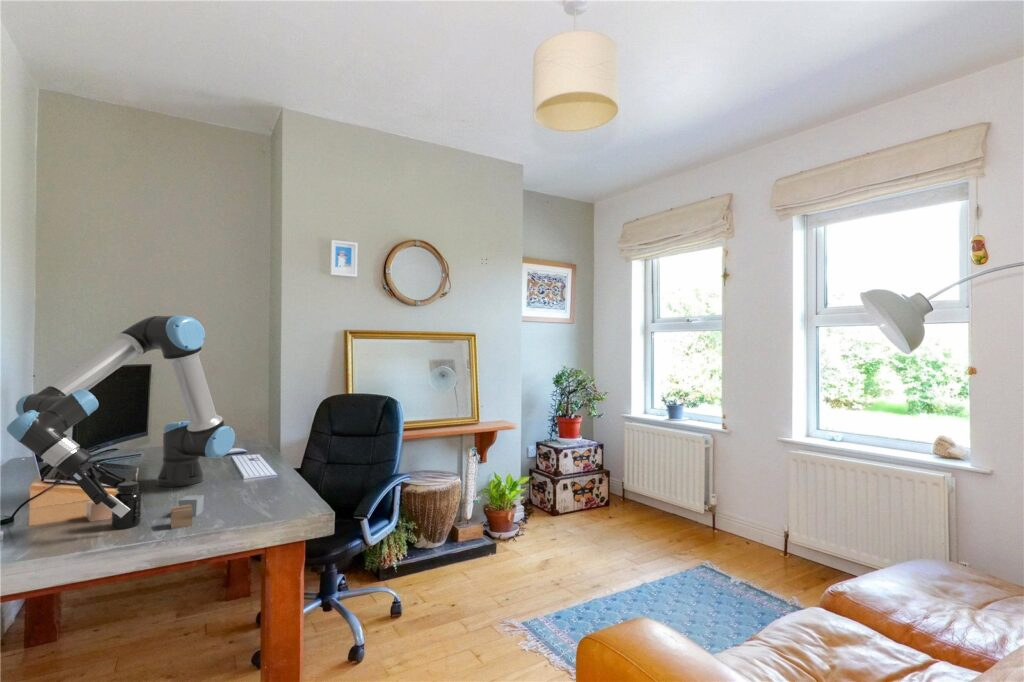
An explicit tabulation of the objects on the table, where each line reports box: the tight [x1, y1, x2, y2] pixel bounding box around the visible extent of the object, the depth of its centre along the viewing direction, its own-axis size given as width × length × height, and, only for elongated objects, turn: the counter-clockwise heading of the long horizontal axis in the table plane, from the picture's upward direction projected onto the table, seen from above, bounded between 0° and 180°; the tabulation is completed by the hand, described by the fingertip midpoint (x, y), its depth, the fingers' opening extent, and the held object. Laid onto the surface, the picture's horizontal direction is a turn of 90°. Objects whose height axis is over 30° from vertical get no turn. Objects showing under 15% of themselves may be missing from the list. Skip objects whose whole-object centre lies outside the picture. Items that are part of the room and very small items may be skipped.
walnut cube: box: [170, 505, 193, 530], centre depth 148 cm, size 5×5×5 cm
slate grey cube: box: [178, 494, 205, 517], centre depth 159 cm, size 5×5×5 cm
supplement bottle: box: [110, 481, 143, 530], centre depth 147 cm, size 7×7×12 cm
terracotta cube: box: [86, 499, 112, 522], centre depth 153 cm, size 5×5×5 cm
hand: (132, 506), depth 147 cm, fingers open, 13 cm apart
